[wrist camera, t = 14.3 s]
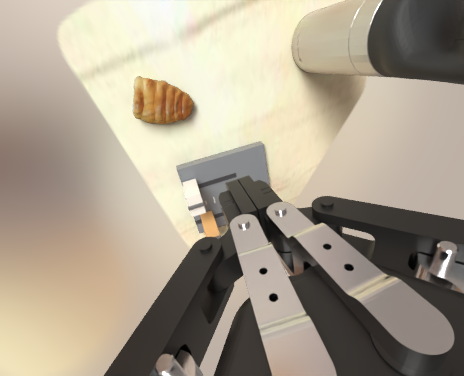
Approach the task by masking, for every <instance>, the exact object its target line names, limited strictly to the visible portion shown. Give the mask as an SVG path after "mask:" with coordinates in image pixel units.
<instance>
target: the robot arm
mask: <svg viewBox="0 0 464 376" xmlns="http://www.w3.org/2000/svg"><path fill="white" fill-rule="evenodd" d="M292 53H293V57H294V60H295V62H296V64H297V65H298V67H299V68H300V69H302V70H303V71H305V72H309V73H323V74H341V75H359V76H379V77H398V78H408V79H421V80H431V81H440V82H448V83H456V84H464V0H345V1H342V2H339V3H337V4H334V5H331V6H327V7H325V8H322V9H319V10H316V11H313V12H311V13H309V14H307V15H306V16H305V17H304V18H303V19H302V20H301V21H300V23H299V24H298V26H297V28H296V30H295V32H294V35H293V40H292ZM225 184H226V188H227V191H225V192H222V193H220V194H219V198H218V199H219V202H220V206H221V209H222V212H223V216H224V219H225V221H226V224H227V226H228V228H229V229H228V231H227V232H226V234H225V235H224V236H222V237H221V238H219V239H217V238H215V237H205V238H202V239H200V240H198V241H197V242H196V243H195V244H194V245H193V246H192V248H191V249H190V251H189V252H188V254H187V255H186V257H185V258H184V260H183V261H182V263H181V264H180V265H179V267H178V268H177V270H176V271H175V273H174V274H173V276H172V277H171V279H170V280H169V281H168V283H167V284H166V286H165V287H164V289H163V290H162V292H161V293H160V295H159V296H158V298H157V299H156V300H155V302H154V303H153V305H152V306H151V308H150V309H149V311H148V312H147V313H146V315H145V316H144V318H143V319H142V321H141V322H140V324H139V325H138V327H137V328H136V329H135V331H134V332H133V334H132V335H131V337H130V338H129V340H128V341H127V343H126V344H125V346H124V347H123V349H122V350H121V352H120V353H119V354H118V356H117V357H116V359H115V360H114V362H113V363H112V364H111V366H110V367H109V369H108V370H107V372H106V373H105V375H104V376H203V374H202V372H201V370H200V369H199V367H200V364H201V362H202V360H203V358H204V355H205V353H206V351H207V348H208V346H209V344H210V341H211V339H212V337H213V334H214V332H215V330H216V327H217V325H218V323H219V320H220V318H221V316H222V314H223V311H224V309H225V306H226V304H227V302H228V300H229V297H230V295H231V292H232V290H233V287H234V282H235V281H236V280H237V279H239V278H240V277H242V276H243V275H244V278H245V282H246V285H247V289H248V292H249V295H250V298H248V299H247V300H246V301H245V302H244V303H243V304H242V306H241V307H240V308H239V310H238V311H237V313H236V315H235V317H234V320H233V322H232V325H231V328H230V331H229V333H228V337H227V339H226V342H225V345H224V348H223V351H222V354H221V356H220V359H219V362H218V365H217V368H216V371H215V374H214V376H464V220H460V219H455V218H450V217H444V216H438V215H432V214H427V213H422V212H416V211H409V210H405V209H399V208H393V207H388V206H382V205H376V204H371V203H365V202H359V201H354V200H348V199H342V198H337V197H331V196H323V197H319V198H317V199H315V200H314V201H313V202H312V207H308V208H295V207H294V206H293V205H292V204H290V203H287V202H283V201H282V200H281V199H280V198H279V197H278V196H277V195H276V193H275V192H274V191H273V190H272V189H271V188H270V187H269V185H268V184H267V183H266V182H263V181H261V180H257V181H255V182H254V181H253V180H252V178H251V177H250V176H249V175H247V176H244V177H241V178H238V179H235V180H232V181H229V182H226V183H225ZM342 227H346V228H350V229H354V230H358V231H362V232H366V233H369V234H371V235H372V236H373V237H374V238H375V241H371V240H367V239H363V238H359V237H355V236H352V235H348V234H344V233H342ZM269 242H271V244H269ZM283 266H284V267H283ZM284 268H285V269H286V270H287V272H288V273H289V274H290V276H289V277H288V276H287V274H286V272H285V269H284Z"/></svg>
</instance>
